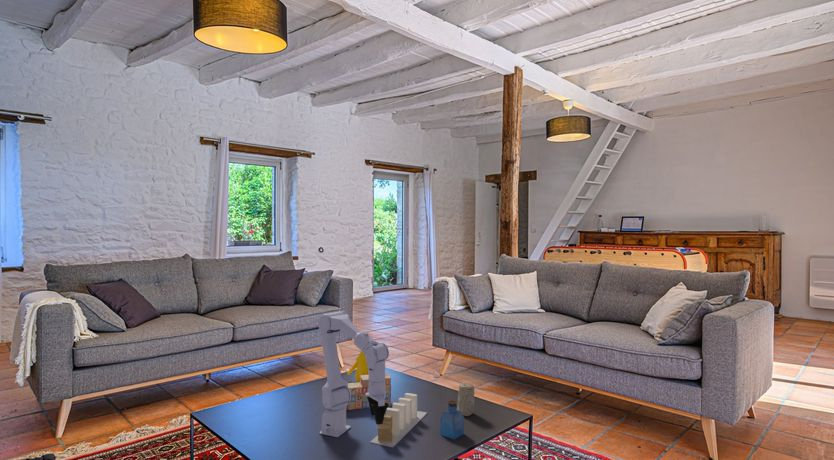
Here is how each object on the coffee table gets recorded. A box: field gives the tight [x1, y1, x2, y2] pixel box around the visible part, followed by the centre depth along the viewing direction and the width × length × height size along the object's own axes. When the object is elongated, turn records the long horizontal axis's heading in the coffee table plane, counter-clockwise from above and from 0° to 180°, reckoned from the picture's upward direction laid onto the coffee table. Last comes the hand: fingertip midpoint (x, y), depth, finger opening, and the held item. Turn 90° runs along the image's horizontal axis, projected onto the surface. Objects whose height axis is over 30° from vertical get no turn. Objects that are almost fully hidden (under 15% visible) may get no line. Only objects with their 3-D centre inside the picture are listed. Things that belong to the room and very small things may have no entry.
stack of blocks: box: [346, 373, 392, 411], centre depth 203 cm, size 21×6×12 cm, turn 104°
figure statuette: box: [346, 350, 369, 383], centre depth 233 cm, size 18×8×22 cm, turn 85°
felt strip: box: [369, 410, 428, 448], centre depth 182 cm, size 32×9×1 cm, turn 157°
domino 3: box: [398, 397, 412, 424], centre depth 186 cm, size 2×5×9 cm, turn 67°
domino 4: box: [403, 392, 418, 419], centre depth 191 cm, size 2×5×9 cm, turn 67°
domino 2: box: [391, 401, 406, 430], centre depth 181 cm, size 2×5×9 cm, turn 67°
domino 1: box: [385, 407, 400, 436], centre depth 176 cm, size 2×5×9 cm, turn 67°
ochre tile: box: [377, 414, 392, 443], centre depth 170 cm, size 2×5×9 cm, turn 67°
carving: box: [456, 382, 475, 417], centre depth 195 cm, size 6×8×12 cm
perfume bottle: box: [439, 400, 465, 440], centre depth 176 cm, size 6×6×12 cm
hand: (376, 419), depth 164 cm, fingers open, 7 cm apart
